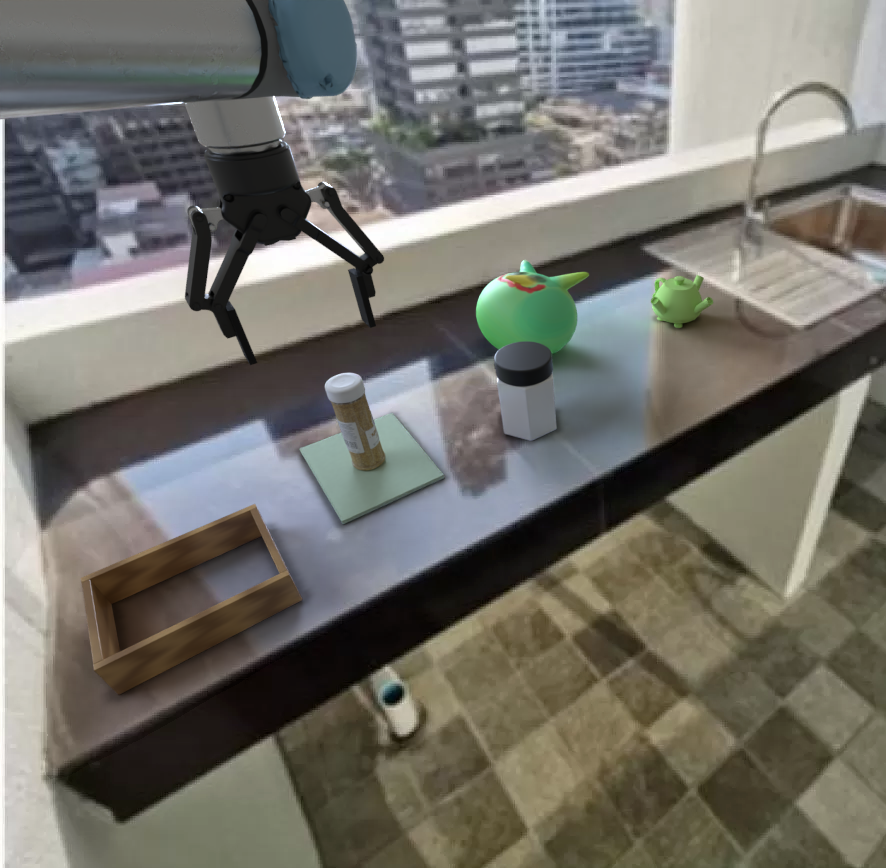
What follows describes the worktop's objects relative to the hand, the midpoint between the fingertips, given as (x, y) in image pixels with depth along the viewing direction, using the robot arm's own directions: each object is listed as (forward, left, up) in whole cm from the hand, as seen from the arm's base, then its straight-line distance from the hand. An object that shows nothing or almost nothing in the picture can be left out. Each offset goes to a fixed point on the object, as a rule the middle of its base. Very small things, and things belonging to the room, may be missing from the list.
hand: (312, 340), depth 71 cm
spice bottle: (+2, -1, -20) cm, 20 cm away
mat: (+2, -1, -21) cm, 21 cm away
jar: (+12, -22, -21) cm, 33 cm away
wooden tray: (-22, +9, -21) cm, 32 cm away
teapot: (+46, -46, -21) cm, 68 cm away
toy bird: (+34, -19, -21) cm, 44 cm away
